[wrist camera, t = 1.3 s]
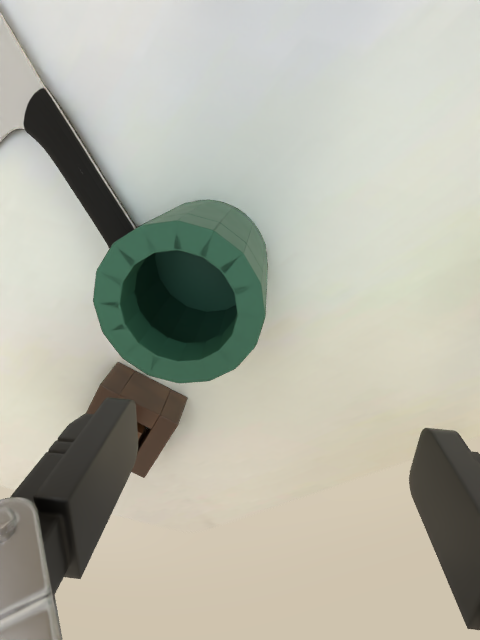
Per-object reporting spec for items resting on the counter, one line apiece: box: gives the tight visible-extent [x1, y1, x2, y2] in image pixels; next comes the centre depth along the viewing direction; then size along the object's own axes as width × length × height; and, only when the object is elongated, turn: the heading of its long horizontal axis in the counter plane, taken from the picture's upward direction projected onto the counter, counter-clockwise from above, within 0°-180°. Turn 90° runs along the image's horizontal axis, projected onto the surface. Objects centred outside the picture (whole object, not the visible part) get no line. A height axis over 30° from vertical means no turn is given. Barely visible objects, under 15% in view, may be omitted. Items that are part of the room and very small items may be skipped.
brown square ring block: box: [86, 362, 187, 478], centre depth 35 cm, size 7×7×4 cm
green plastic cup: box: [93, 200, 268, 383], centre depth 26 cm, size 9×9×11 cm
